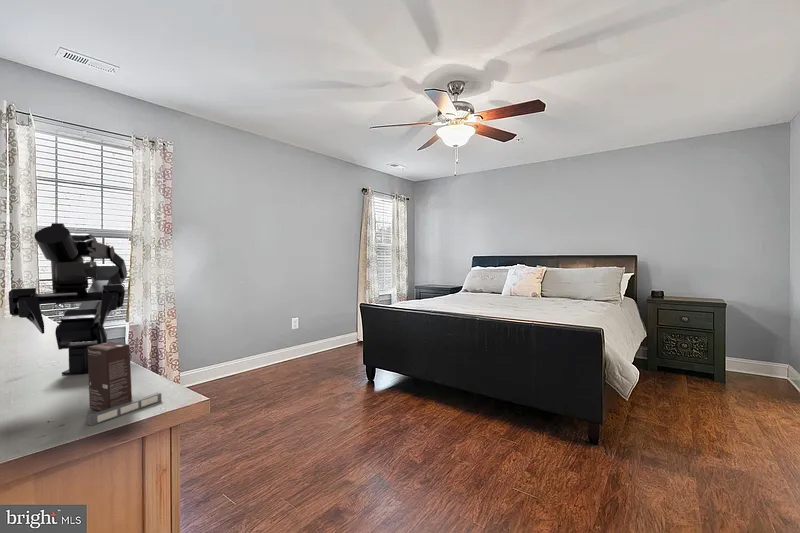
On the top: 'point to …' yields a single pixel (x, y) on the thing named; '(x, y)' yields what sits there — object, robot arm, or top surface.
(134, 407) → the rail
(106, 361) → the box
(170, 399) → the top surface
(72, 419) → the top surface
